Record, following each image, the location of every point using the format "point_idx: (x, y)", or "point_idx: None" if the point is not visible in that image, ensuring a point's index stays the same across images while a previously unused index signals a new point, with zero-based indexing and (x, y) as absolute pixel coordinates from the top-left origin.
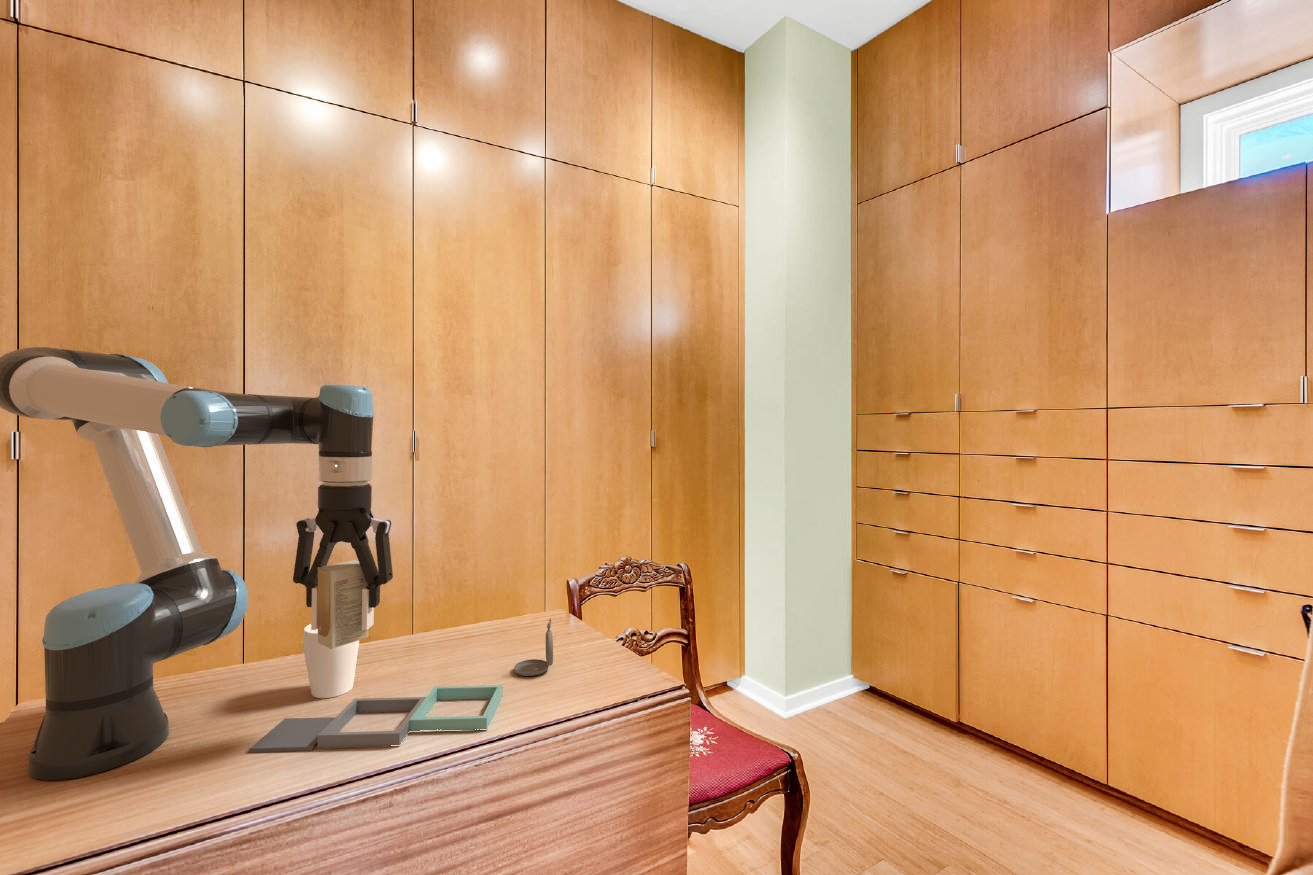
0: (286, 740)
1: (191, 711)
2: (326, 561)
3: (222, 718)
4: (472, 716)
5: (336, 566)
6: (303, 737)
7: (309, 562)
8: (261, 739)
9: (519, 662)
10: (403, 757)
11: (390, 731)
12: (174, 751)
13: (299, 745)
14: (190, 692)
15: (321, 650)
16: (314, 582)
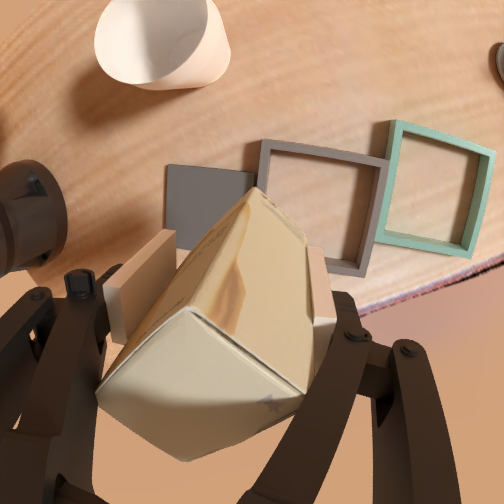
0: (202, 234)
1: (48, 124)
2: (83, 378)
3: (87, 144)
4: (456, 250)
5: (165, 422)
6: None
7: (20, 341)
8: (167, 224)
9: (502, 46)
10: (368, 296)
11: (351, 270)
12: (86, 224)
13: None
14: (26, 74)
15: (160, 89)
16: (104, 345)
